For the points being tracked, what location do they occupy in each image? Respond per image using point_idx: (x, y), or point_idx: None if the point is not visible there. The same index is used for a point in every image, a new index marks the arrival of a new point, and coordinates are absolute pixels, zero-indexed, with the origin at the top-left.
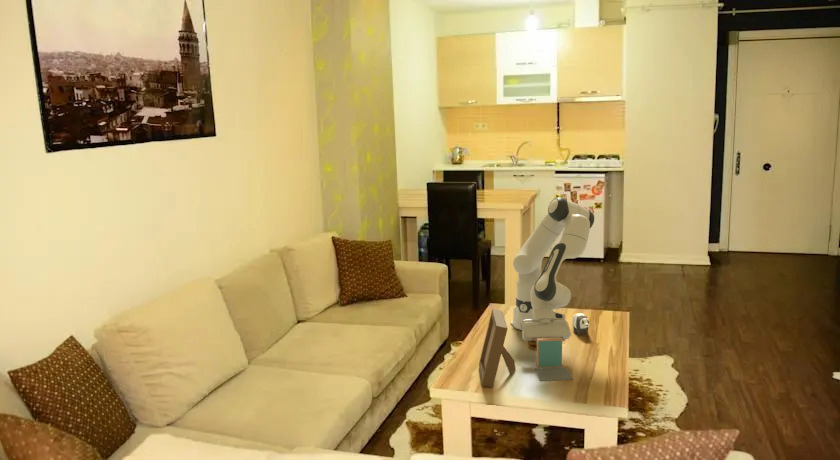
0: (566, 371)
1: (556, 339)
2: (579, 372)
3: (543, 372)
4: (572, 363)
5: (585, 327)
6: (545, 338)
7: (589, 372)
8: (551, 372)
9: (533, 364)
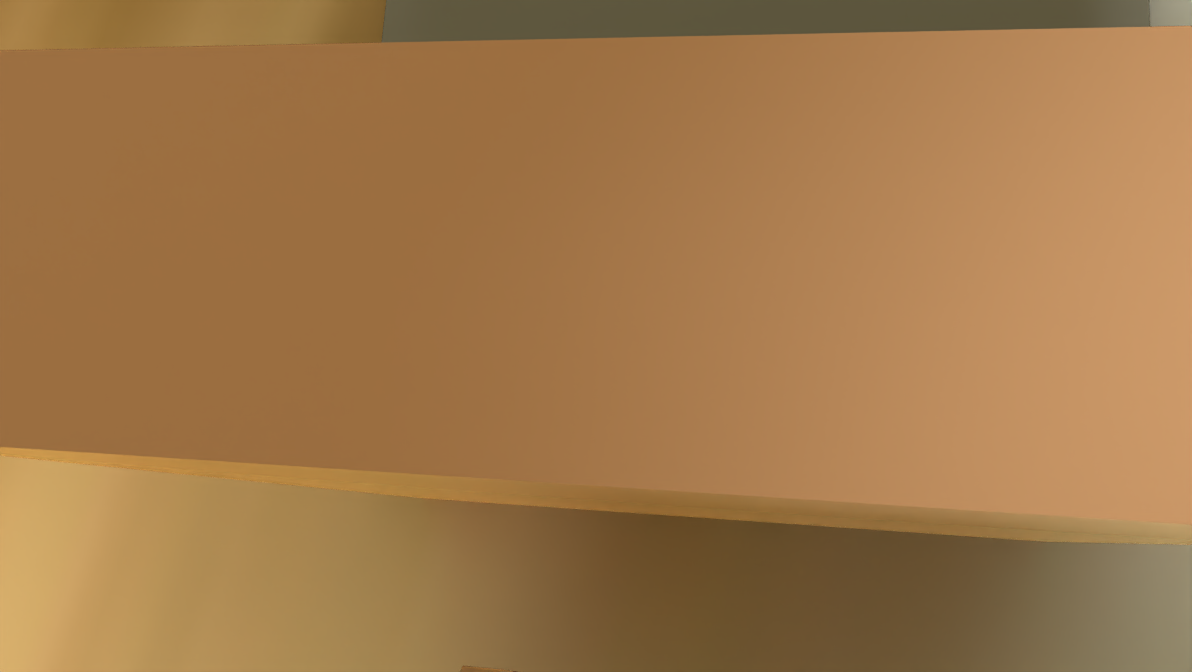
0: (431, 37)
1: (131, 97)
2: (191, 32)
3: (972, 18)
4: (146, 538)
5: None
6: (821, 397)
7: (19, 18)
8: (776, 4)
9: (1124, 655)
